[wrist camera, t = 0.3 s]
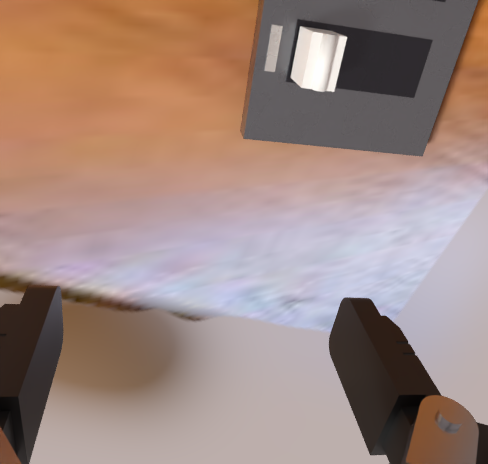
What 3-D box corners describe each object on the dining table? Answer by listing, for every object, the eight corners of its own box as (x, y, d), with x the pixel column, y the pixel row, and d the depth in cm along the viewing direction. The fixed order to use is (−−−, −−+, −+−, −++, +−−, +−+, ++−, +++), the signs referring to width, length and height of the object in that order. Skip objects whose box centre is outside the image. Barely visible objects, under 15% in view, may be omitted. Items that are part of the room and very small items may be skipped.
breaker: (300, 26, 32) (314, 32, 29) (331, 30, 33) (349, 37, 29) (290, 77, 34) (303, 89, 31) (320, 81, 34) (336, 93, 31)
